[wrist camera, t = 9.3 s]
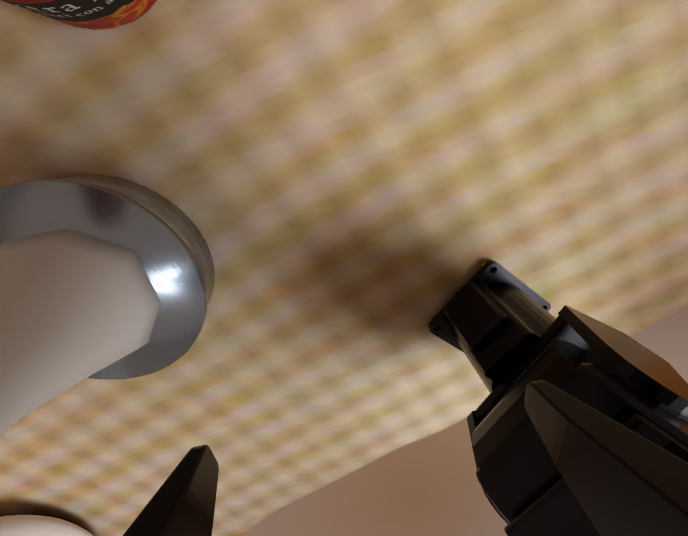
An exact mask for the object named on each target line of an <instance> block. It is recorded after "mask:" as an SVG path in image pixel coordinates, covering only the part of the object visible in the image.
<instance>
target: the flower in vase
mask: <svg viewBox="0 0 688 536" xmlns="http://www.w3.org/2000/svg"><path fill="white" fill-rule="evenodd" d="M0 536H93V535H92V534H91V533H90V532H88V531H87V530H85V529H83V528H81V527H79V526H78V525H75V524H73V523H71V522H68V521H65V520H62V519H58V518H54V517H49V516H39V515H11V516H2V517H0Z"/></svg>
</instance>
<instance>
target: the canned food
mask: <svg viewBox="0 0 688 536" xmlns="http://www.w3.org/2000/svg"><path fill="white" fill-rule="evenodd" d="M1 1H4V2H7V3H10V4H13V5H16V6H18V7H21V8H24V9H27V10H30V11H33V12H35V13H38V14H41V15H44V16H47V17H50V18H52V19H55V20H58V21H61V22H64V23H67V24H69V25H72V26H75V27H81V28H88V29H94V30H96V29H110V28H115V27H118V26H121V25H124V24H127V23H130V22H132V21H135V20H136V19H138V18H139V17H141V16H142V15H143V14H145V13H146V12H148V10H149V9H150V8H151V7H152V6H153V4H154V3H155V2H156V1H157V0H1Z"/></svg>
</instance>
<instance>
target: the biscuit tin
mask: <svg viewBox="0 0 688 536" xmlns="http://www.w3.org/2000/svg"><path fill="white" fill-rule="evenodd" d="M65 228H68V229H71V230H74V231H77V232H80V233H82V234H85V235H88V236H91V237H94V238H96V239H99V240H102V241H105V242H108V243H111V244H113V245H116V246H119V247H122V248H125V249H127V250H130V251H133V252H135V253H136V255H137V257H138V259H139V261H140V263H141V264H142V266H143V268H144V270H145V272H146V274H147V276H148V278H149V280H150V282H151V284H152V286H153V287H154V289H155V291H156V293H157V295H158V297H159V299H160V301H161V304H160V307H159V310H158V313H157V316H156V320H155V323H154V326H153V329H152V332H151V335H150V339H149V342H148V343H147V344H145V345H144V346H142V347H140V348H139V349H137V350H135V351H134V352H132V353H130V354H128V355H126V356H125V357H123V358H121V359H119V360H117V361H116V362H114V363H112V364H110V365H108V366H107V367H105V368H103V369H101V370H100V371H98V372H96V373H94V374H92V375H91V376H89V377H87V378H94V379H126V378H133V377H139V376H143V375H147V374H150V373H153V372H156V371H158V370H161V369H163V368H165V367H167V366H169V365H170V364H172V363H173V362H175V361H176V360H178V359H179V358H180V357H181V356H182V355H184V354H185V353H186V352H187V351H188V349H189V348H190V347H191V346H192V344H193V343H194V342H195V340H196V338H197V336H198V334H199V332H200V330H201V328H202V326H203V323H204V320H205V316H206V310H207V305H208V303H209V301H210V298H211V295H212V292H213V287H214V266H213V260H212V257H211V254H210V251H209V248H208V246H207V244H206V242H205V240H204V238H203V236H202V235H201V233H200V231H199V230H198V229H197V227H196V226H195V225H194V224H193V222H192V221H191V220H190V219H189V218H188V217H187V216H186V215H185V214H184V213H183V212H182V211H181V210H180V209H179V208H178V207H177V206H175V205H174V204H173V203H172V202H170V201H169V200H167V199H166V198H164V197H163V196H161V195H160V194H158V193H156V192H154V191H152V190H150V189H148V188H147V187H145V186H142V185H139V184H137V183H134V182H132V181H128V180H124V179H121V178H117V177H111V176H104V175H79V176H72V177H68V178H63V179H41V180H31V181H26V182H22V183H18V184H14V185H10V186H6V187H2V188H0V245H1V244H2V243H3V241H4V240H10V239H15V238H20V237H25V236H30V235H35V234H40V233H45V232H50V231H55V230H60V229H65Z"/></svg>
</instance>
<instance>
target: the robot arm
mask: <svg viewBox="0 0 688 536" xmlns="http://www.w3.org/2000/svg"><path fill="white" fill-rule="evenodd" d="M492 267H494V269H493V270H492V271H490V269H491V268H492ZM542 306H543V307H542ZM549 310H550V304H549V303H548V302H547V301H546V300H544V299H543V298H542V297H541V296H539V295H538V294H537V293H535V292H534V291H533V290H531V289H530V288H529V287H528V286H526V285H525V284H524V283H522V282H521V281H520V280H519V279H517V278H516V277H515V276H513V275H512V274H511V273H510V272H508V271H507V270H506V269H504V268H503V267H502V266H500V265H499V264H498V263H497V262H495V261H489V262H487V263H486V264H485V265H484V266H483V267H482V268H481V269H480V270H479V271H478V272H477V273H476V274H475V275H474V277H473V278H472V279H471V280H470V281H469V282H468V283H467V284H466V285H465V286H464V287H463V288H462V289H461V290H460V291H459V292H458V293H457V294H456V295H455V296H454V298H453V299H452V300H451V301H450V302H449V303H448V304H447V305H446V306H445V307H444V308H443V309H442V310H441V311H440V312H439V313H438V314H437V315H436V316H435V317H434V319H433V320H432V321H431V322H430V323H429V326H428V327H429V329H430V331H431V332H432V333H433V334H434V335H436V336H438V337H439V338H441V339H443V340H444V341H446V342H448V343H449V344H451V345H453V346H454V347H456V348H458V349H459V350H461V351H463V352H464V353H465V354H466V356H467V358H468V359H469V361H470V362H471V364H472V365H473V367H474V368H475V370H476V372H477V373H478V375H479V376H480V378H481V379H482V381H483V382H484V384H485V385H486V387H487V389H488V390H489V392H490V395H489V396H488V397H487V398H486V399H485V400H484V401H483V402H482V404H481V405H480V406H479V407H478V408H477V409H476V410H475V411H472V412H471V413H470V414H469V416H468V417H467V421H468V426H469V431H470V437H471V442H472V448H473V452H474V457H475V462H476V467H477V471H476V474H477V478H478V481H479V483H480V484H481V486H482V488H483V491H484V493H485V495H486V497H487V498H488V500H489V502H490V503H491V505H492V506H493V507H494V509H495V510H496V511H497V513H498V514H499V515H500V516H501V517H502V518H503V519H504V520H505V521H506V523H507V524H508V525H507V526H506V527H505V532H506V534H507V535H508V536H688V383H686V381H685V380H684V379H683V378H682V377H681V376H680V375H679V374H678V372H677V371H676V370H675V369H674V368H673V367H672V366H671V365H670V364H669V363H668V362H667V361H665V360H664V359H662V358H661V357H659V356H658V355H656V354H655V353H653V352H652V351H650V350H649V349H647V348H646V347H644V346H643V345H641V344H640V343H638V342H637V341H635V340H634V339H632V338H631V337H629V336H628V335H626V334H624V333H623V332H621V331H618V330H616V329H614V328H612V327H610V326H608V325H606V324H604V323H602V322H600V321H597V320H595V319H593V318H591V317H589V316H587V315H585V314H583V313H581V312H579V311H576V310H574V309H572V308H570V307H568V306H566V305H565V306H564V307H563V308H562V310H561V311H560V312H559V313H558V314H559V316H558V317H557V318H555V317H554V316H552V315H551V314H550V313H549V312H548V311H549ZM435 326H438V327H436V328H434V327H435ZM218 471H219V468H218V463H217V460H216V459H215V457H214V455H213V453H212V451H211V449H210V447H209V446H207V445H202V446H197V447H193V448H192V449H191V450H190V451H189V452H188V453H187V454H186V456H185V457H184V458H183V459H182V461H181V462H180V463H179V464H178V466H177V467H176V468H175V470H174V471H173V472H172V473H171V475H170V476H169V477H168V478H167V480H166V481H165V482H164V484H163V485H162V486H161V487H160V489H159V490H158V491H157V492H156V494H155V495H154V496H153V498H152V499H151V500H150V501H149V503H148V504H147V505H146V507H145V508H144V509H143V510H142V512H141V513H140V514H139V515H138V517H137V518H136V519H135V521H134V522H133V523H132V524H131V526H130V527H129V528H128V529H127V531H126V532H125V533H124V535H123V536H211V535H212V528H213V519H214V509H215V500H216V491H217V481H218Z"/></svg>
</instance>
